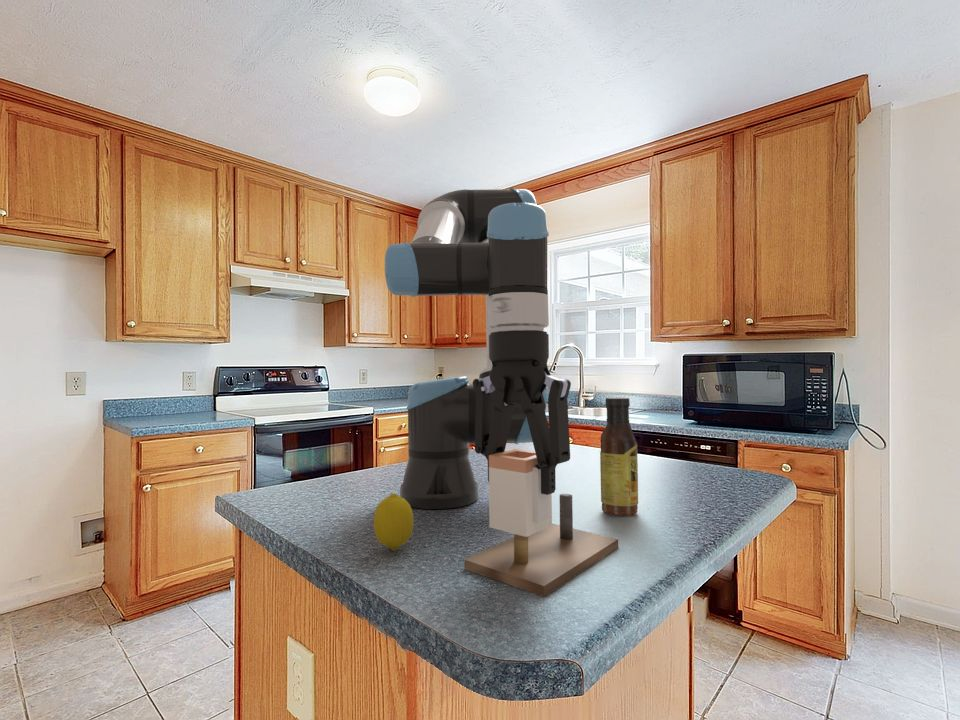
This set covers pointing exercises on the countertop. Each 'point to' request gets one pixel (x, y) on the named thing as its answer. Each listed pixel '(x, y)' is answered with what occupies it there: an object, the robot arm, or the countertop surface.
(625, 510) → the sauce bottle
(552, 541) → the pin board
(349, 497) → the countertop surface
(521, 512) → the sleeve
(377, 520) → the lemon
